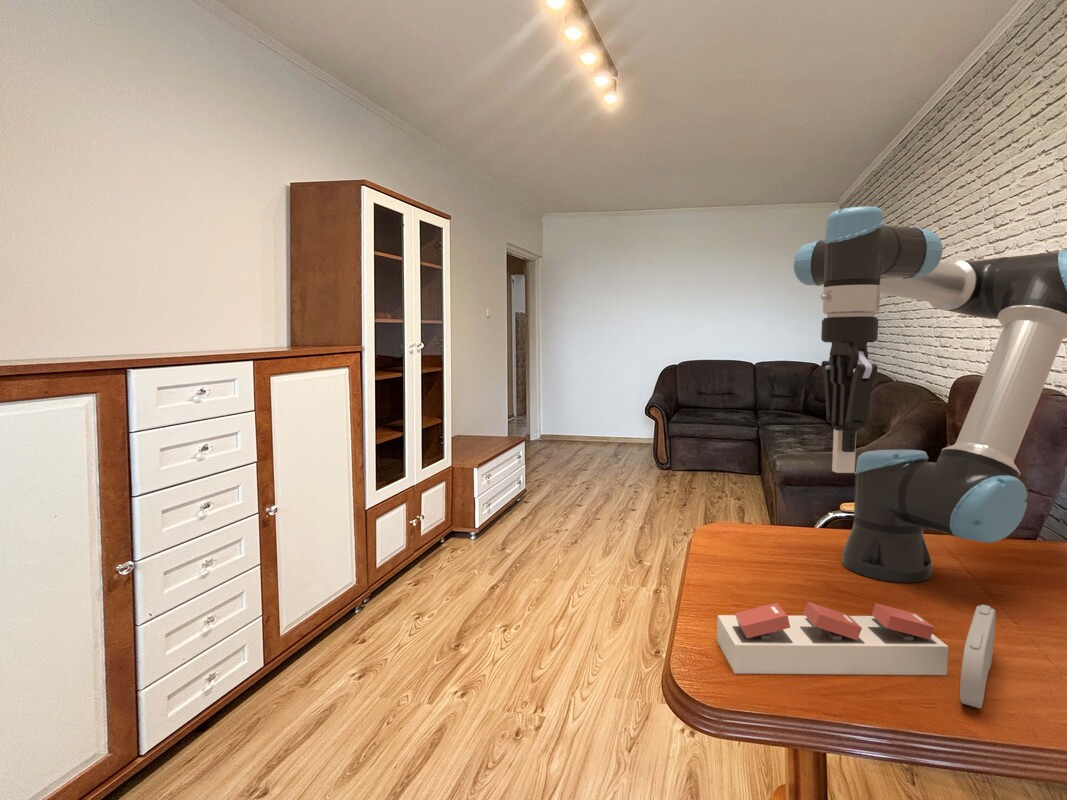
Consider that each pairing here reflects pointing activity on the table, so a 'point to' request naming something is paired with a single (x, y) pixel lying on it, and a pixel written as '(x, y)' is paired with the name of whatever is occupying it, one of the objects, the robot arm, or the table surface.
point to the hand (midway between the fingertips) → (843, 471)
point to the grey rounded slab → (977, 656)
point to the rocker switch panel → (830, 650)
